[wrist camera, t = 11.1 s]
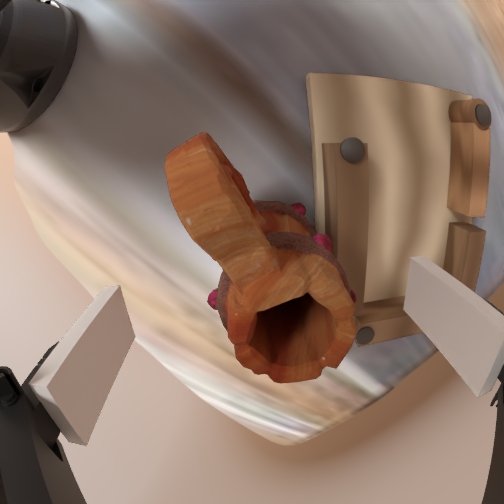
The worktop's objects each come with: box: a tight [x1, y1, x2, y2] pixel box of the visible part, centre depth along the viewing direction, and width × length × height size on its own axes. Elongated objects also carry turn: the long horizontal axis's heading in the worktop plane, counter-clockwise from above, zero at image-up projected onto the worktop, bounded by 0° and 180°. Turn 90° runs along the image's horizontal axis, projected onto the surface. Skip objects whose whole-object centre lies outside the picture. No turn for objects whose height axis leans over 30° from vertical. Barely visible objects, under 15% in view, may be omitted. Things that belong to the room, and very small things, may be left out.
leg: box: [447, 99, 491, 217], centre depth 21 cm, size 11×3×4 cm, turn 1°
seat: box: [305, 73, 486, 346], centre depth 23 cm, size 18×24×5 cm
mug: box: [165, 132, 357, 383], centre depth 19 cm, size 15×8×15 cm, turn 30°
